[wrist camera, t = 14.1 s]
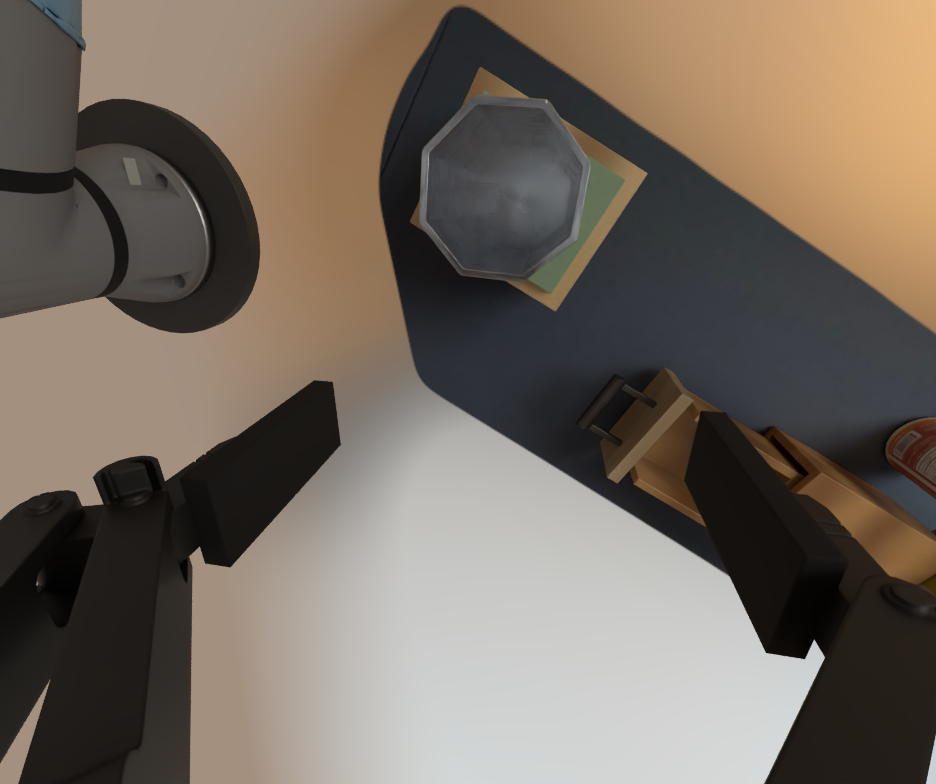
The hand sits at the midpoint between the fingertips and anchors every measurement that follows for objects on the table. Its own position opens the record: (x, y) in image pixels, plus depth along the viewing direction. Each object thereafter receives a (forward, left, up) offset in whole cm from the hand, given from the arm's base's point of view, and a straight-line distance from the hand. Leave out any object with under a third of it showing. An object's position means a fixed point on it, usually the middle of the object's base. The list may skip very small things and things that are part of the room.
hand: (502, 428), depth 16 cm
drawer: (+16, -12, -29) cm, 35 cm away
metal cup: (-2, +8, -16) cm, 18 cm away
